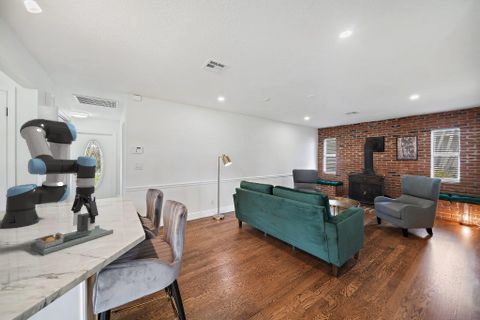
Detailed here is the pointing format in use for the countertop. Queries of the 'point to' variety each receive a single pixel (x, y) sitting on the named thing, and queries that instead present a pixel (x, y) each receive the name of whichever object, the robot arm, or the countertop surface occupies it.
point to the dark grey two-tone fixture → (81, 228)
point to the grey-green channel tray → (74, 241)
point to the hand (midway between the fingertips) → (83, 227)
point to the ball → (50, 239)
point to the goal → (47, 243)
